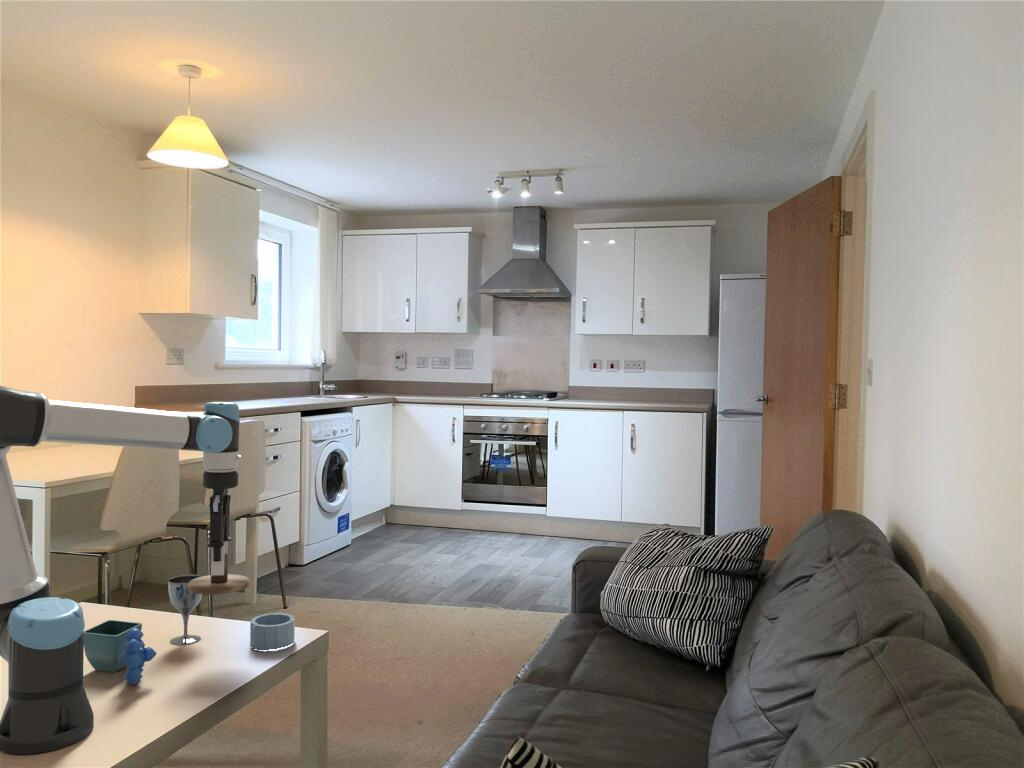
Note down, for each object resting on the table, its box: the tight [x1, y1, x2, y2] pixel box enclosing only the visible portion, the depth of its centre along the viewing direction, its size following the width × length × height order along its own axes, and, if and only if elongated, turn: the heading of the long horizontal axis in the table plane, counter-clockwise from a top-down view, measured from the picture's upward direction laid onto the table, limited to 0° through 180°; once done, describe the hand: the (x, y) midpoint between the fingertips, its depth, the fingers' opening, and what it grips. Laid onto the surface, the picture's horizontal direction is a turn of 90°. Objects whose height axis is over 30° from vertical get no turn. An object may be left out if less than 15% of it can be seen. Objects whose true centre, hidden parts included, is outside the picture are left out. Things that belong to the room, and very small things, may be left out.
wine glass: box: [167, 574, 203, 646], centre depth 192 cm, size 8×8×15 cm
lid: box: [188, 553, 250, 596], centre depth 180 cm, size 13×13×7 cm
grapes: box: [122, 628, 157, 686], centre depth 166 cm, size 12×7×12 cm, turn 22°
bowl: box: [249, 612, 296, 650], centre depth 190 cm, size 10×10×6 cm
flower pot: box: [84, 619, 143, 673], centre depth 174 cm, size 9×9×9 cm
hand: (219, 572), depth 180 cm, fingers closed on lid, 4 cm apart
